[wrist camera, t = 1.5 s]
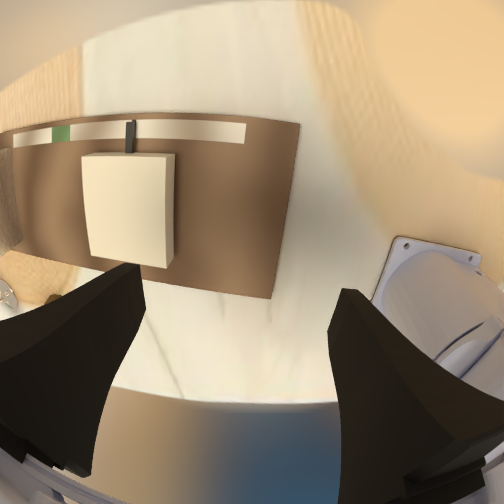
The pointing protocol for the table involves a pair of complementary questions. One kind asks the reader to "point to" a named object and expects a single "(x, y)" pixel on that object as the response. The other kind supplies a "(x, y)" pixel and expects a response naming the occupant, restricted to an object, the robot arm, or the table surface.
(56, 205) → the gauge base
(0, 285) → the wineglass
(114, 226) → the carriage
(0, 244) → the gray stone tile
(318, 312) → the table surface
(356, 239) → the table surface
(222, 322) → the table surface
